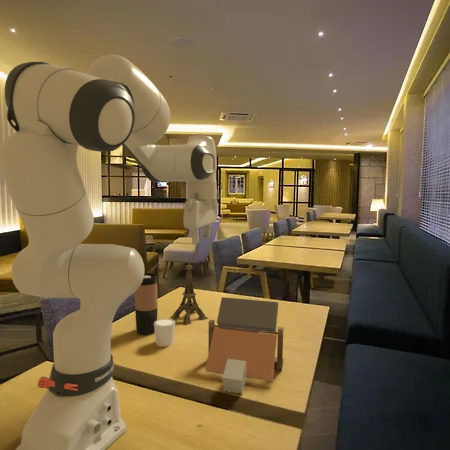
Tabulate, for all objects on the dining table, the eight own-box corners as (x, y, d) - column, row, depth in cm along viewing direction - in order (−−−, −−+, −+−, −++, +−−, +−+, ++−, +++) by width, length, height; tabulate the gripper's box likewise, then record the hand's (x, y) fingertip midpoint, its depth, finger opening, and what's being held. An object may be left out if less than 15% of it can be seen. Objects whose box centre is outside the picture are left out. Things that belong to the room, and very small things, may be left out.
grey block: (246, 374, 92) (242, 394, 86) (229, 371, 93) (223, 391, 88) (246, 361, 89) (241, 380, 84) (227, 358, 91) (222, 377, 85)
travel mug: (155, 325, 129) (155, 272, 126) (159, 333, 121) (159, 277, 119) (134, 328, 126) (133, 273, 124) (137, 336, 119) (136, 279, 117)
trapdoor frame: (281, 371, 97) (283, 329, 96) (208, 360, 103) (208, 321, 101) (283, 362, 102) (284, 323, 101) (212, 353, 107) (213, 315, 106)
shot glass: (171, 348, 110) (170, 327, 110) (150, 346, 112) (150, 325, 111) (178, 339, 117) (178, 319, 116) (158, 337, 118) (158, 317, 118)
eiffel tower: (170, 317, 137) (169, 254, 134) (192, 311, 144) (192, 251, 141) (185, 325, 129) (185, 258, 127) (208, 318, 136) (208, 255, 133)
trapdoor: (272, 382, 91) (272, 380, 89) (207, 372, 96) (205, 370, 94) (280, 305, 104) (279, 302, 102) (221, 300, 109) (220, 297, 107)
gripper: (200, 194, 90) (200, 247, 92) (220, 193, 110) (220, 236, 111) (177, 193, 92) (177, 245, 93) (201, 192, 111) (201, 235, 113)
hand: (201, 240), depth 102 cm, fingers open, 8 cm apart
